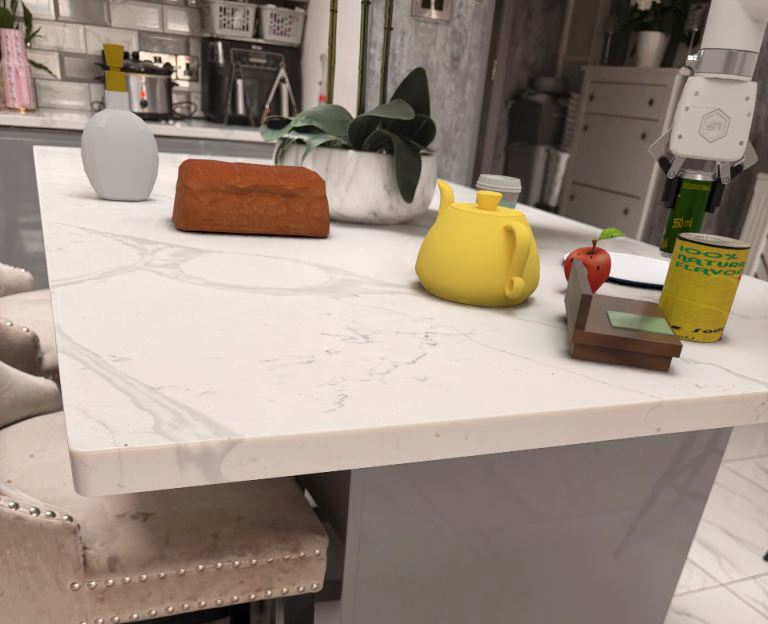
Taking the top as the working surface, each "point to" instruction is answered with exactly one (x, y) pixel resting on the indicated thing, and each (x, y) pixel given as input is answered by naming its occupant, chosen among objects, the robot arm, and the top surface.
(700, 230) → the beer can
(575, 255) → the apple
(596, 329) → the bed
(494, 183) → the coffee cup
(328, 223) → the bread
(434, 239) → the teapot
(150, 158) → the white rounded bottle
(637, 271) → the plate
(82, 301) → the top surface
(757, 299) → the top surface
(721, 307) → the beverage can
